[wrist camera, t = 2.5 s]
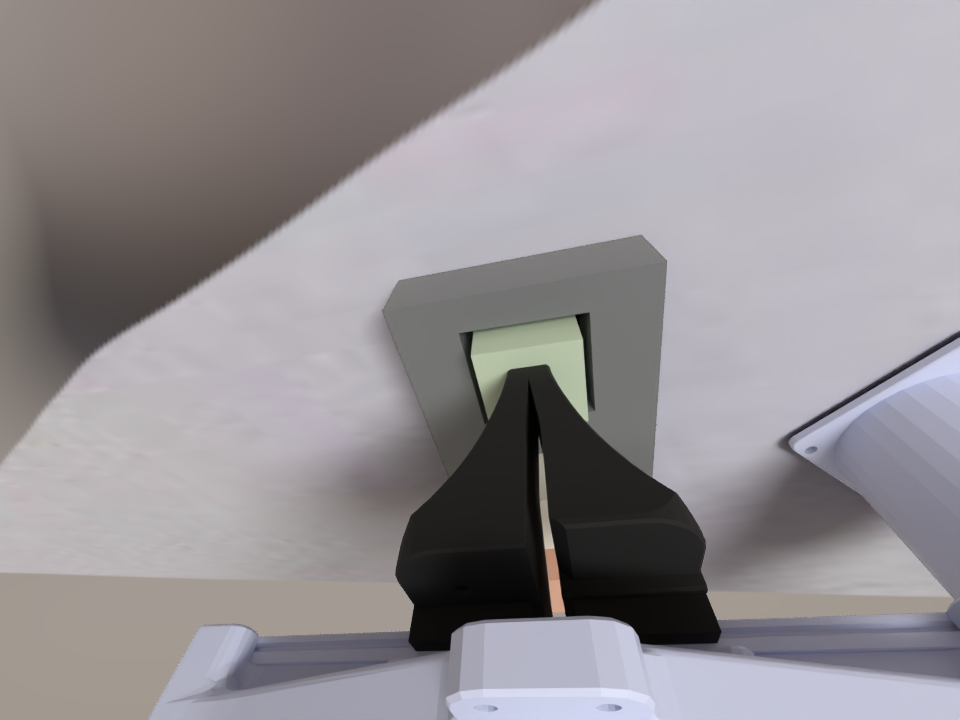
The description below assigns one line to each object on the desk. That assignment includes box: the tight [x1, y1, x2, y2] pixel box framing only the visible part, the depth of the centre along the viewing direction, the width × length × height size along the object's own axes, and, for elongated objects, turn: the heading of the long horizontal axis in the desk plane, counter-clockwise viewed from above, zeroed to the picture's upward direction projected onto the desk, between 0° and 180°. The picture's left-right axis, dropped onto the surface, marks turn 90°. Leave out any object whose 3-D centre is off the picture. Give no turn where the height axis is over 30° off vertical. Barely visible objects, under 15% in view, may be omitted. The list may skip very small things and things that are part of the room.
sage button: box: [471, 315, 588, 421], centre depth 14 cm, size 4×4×3 cm
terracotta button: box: [545, 549, 565, 613], centre depth 21 cm, size 4×4×3 cm
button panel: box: [382, 235, 667, 477], centre depth 19 cm, size 20×9×2 cm, turn 12°
